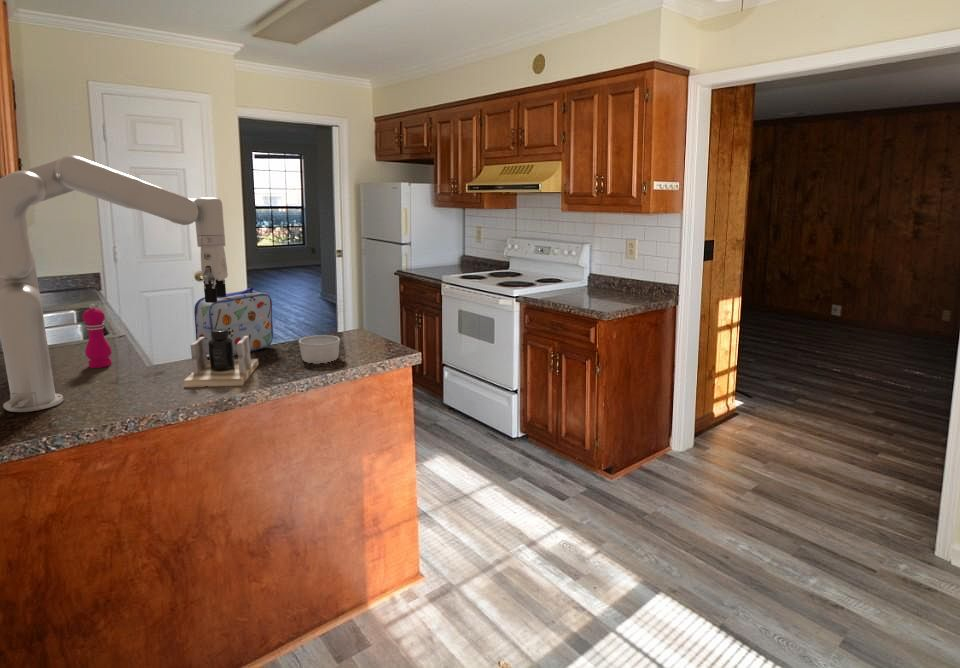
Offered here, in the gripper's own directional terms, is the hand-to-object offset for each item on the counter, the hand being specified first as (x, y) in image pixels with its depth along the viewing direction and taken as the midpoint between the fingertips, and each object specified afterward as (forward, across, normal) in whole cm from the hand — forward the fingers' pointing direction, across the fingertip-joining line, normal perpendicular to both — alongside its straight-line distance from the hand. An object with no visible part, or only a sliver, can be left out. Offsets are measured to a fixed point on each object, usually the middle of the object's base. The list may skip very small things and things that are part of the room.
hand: (216, 299), depth 189 cm
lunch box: (+24, +28, +2) cm, 37 cm away
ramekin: (+23, +15, -27) cm, 39 cm away
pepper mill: (+24, +16, +42) cm, 51 cm away
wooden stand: (+23, 0, 0) cm, 23 cm away
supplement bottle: (+22, 0, 0) cm, 22 cm away
